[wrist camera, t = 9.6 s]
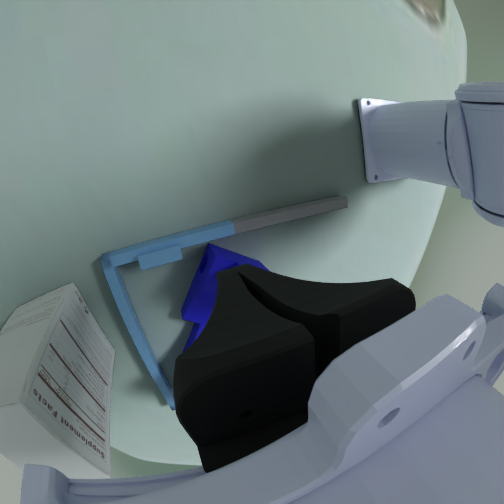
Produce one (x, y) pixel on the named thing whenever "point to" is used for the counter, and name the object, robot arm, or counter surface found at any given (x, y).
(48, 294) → the supplement box
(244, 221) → the blue grey open frame
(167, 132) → the counter surface
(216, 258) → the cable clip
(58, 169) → the counter surface
